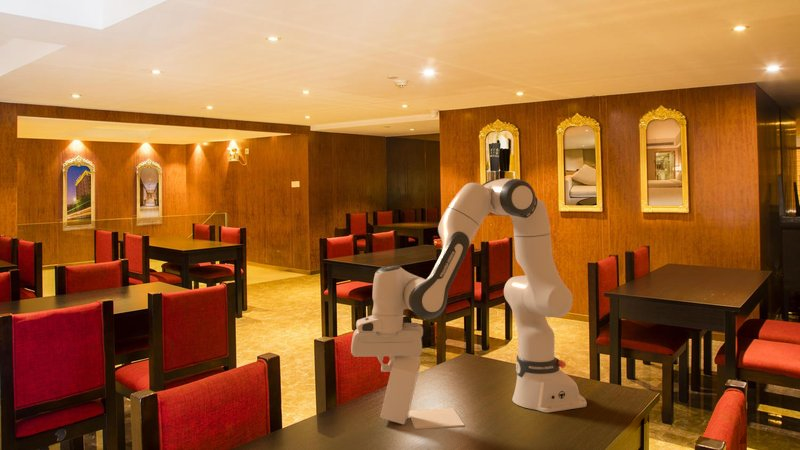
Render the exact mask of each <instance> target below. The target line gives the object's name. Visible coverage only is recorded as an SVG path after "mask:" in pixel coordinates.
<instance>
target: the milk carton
mask: <svg viewBox="0 0 800 450" xmlns="http://www.w3.org/2000/svg"><path fill="white" fill-rule="evenodd" d="M421 359H422V357H421V356H420V355H419V356H395V361H394V362H393V364H392V366H391V371H389V373H390V374H389V377H388V382H387V386H386V390H385V395H384V398H383V403H382V406H381V407H382V408H381V413H380V416H379V418H380V419H384V420H387V421H389V422H394V423H397V424H401V425H405V423H406V421H407V419H408V418H409V411H410V410H411V406H412V402H413V397H414V394H415V389H416V385H417V380H418V376H419V371H420V367H421Z"/></svg>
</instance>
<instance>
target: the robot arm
mask: <svg viewBox="0 0 800 450" xmlns="http://www.w3.org/2000/svg"><path fill="white" fill-rule="evenodd" d="M489 214H491V215H498V216H503V217H505V216H509V217H510V219H511V221H512V224H513V239H514V252H515V253H514V254H515V255H514V256H515V260H516V262H517V264H518V266H520V268H521V269H522V271H523V272H524V275H515V276H512V277H510V278H508V280H507V281H506V283H505V284H504V288H503V296H504V299H505V300H506V302H507V303H508V305H509V307H510V308H511V310H512V311H511V312H512V314H513V318H514V321H515V325H516V330H517V356H516V361H515V362H516V363H515V371H516V382H515V388H514V393H513V396H512V402H513V403H514V404H516V405H517V406H520V407H522V408H527V409H530V410H536V411H539V412H542V413H553V412H560V411H561V412H562V411H567V410H573V409H580V408H586V407H587V404H588V403H587V400H586V398H585V397H584V396H582V394H580V391H579V387H578V384H577V383H576V382H575V380H574V379H573V378H572V377H570V376H569V375H568V374H567V373H565V372H564V371H563V370H562V369H563V368H565V367H566V366H567V363H566V362H565V361H564V360H562V359H559V358H558V357H556V356H555V339H556V338H555V332H554V330H553V329H552V327H551V326H550V325H549V322H548V321H547V318H562V317H564V316H566V315H567V314H568V313H569V312H570V310H571V309H572V306H573V294H572V291H571V290H570V288H568V287H567V285H566V284H565V283H564V281H563V280H562V277H561V276H560V274H559V272H558V269H557V266H556V264H555V259H554V255H553V247H552V233H551V232H552V231H551V225H550V218H549V214H548V210H547V206H546V204H545V202H544V201H542V200H541V199H540V198H537V196H536V193H535V190H534V188H533V187H532V185H531V184H530V183H529V182H527V181H526V180H523V179H520V178H508V177H507V178H498V179H491V180H488V181H486V182H485V183H483V184H481V183H479V182H478V183H477V182H469V183H466V184H465V185H463V187H462V188H461V189H460V190H459V191H458V192H457V193H456V195H455V196H454V197H453V199H452V200H451V201H450V202H449V205H448V206H447V208H446V209H445V211H444V212H443V214H442V217H441V219H440V221H439V223H438V226H437V233H438V235H439V237H440V240H441V243H442V249H441V253H440V255H439V257H438V259H437V261H436V263H435V264H434V267H433V268H432V270H431V272H430V274H429V276H428V277H427V278H423V277H422V276H421V277H420V276H418V275H415V274H413V273H410V272H409V271H407V270H405V269H404V268H402V266H400V265H386V266H383V267H380V268H378V269H377V270H376V271H375V273H374V277H373V283H372V297H371V298H372V301H373V307H372V310H371V315H368V316H366V317H362V318H360V319H357V320H356V323H355V327H356V329H355V330H354V332H353V333H352V337H351V339H352V340H351V347H350V353H351V355H352V356H353V357H354V358H355V357H356V358H358V357H361V358H362V357H365V358H367V357H377V359H378V362H379V363H380V365H381V366H380V367H381V368H380V371H381V372H391V368H392V365H393V362H394V361H395V356H419V357H420V356H421V355H422V354H423V343H422V337H423V336H424V328H423V326H422V324H419V323H418V322H412V323H411V322H404V311H405V310H410V311H412V313H414V314H415V316H417V317H419V318H420V319H424V320H431V319H435V318H438V317H439V316H440V315H441V314H442V313H443V312H444V310H445V309H446V307H447V303H448V296H449V291H450V288H451V286H452V284H453V282H454V280H455V277H456V275H457V274H458V272H459V270H460V267H461V265H462V264H463V262H464V259H465V258H466V255H467V253H468V250H469V248H470V245H471V243H472V241H473V239H474V238H475V235H476V234H477V232H478V231H479V229H480V227H481V226H482V223H483V222H484V220H485V219H486V217H487V216H489ZM384 357H388V358H389V360H388V363H384V362H383V360H384ZM560 368H561V369H560Z"/></svg>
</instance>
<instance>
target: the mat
mask: <svg viewBox="0 0 800 450" xmlns="http://www.w3.org/2000/svg"><path fill="white" fill-rule="evenodd" d="M408 417H409V418H410V420H411V424H412V425H413V428H414V429H415V430H427V429H428V430H429V429H437V428H438V429H441V428H443V429H444V428H457V427H458V428H459V427H465V424H464V422H463V421H462V419H461V418H460V416H459V415H458V413H457V411H456V410H455V409H454V407H446V408H432V409H431V408H430V409H414V410H413V409H410V411H409V415H408Z"/></svg>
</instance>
